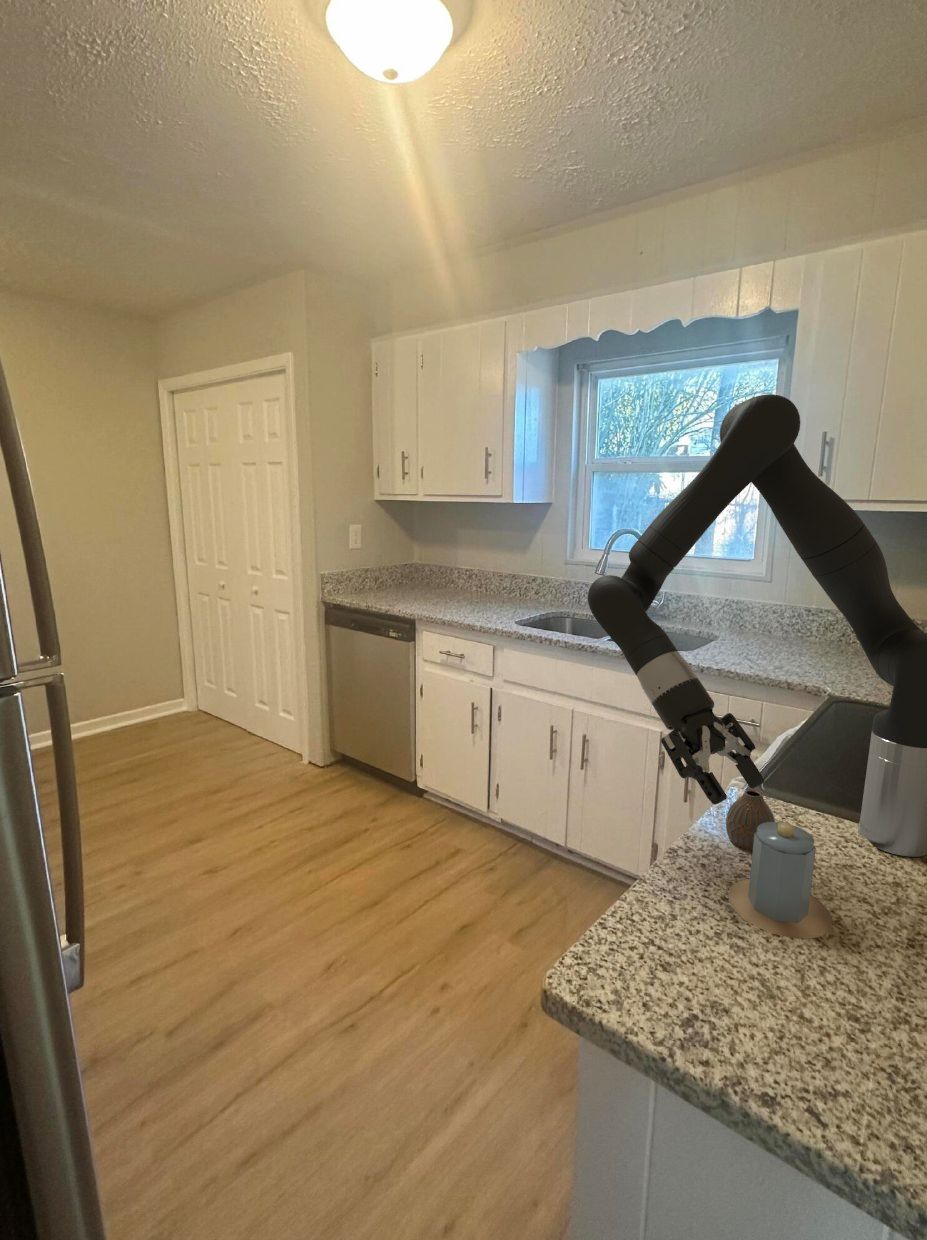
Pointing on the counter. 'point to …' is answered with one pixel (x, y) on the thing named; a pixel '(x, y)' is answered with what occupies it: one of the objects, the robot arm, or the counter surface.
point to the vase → (747, 818)
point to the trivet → (808, 927)
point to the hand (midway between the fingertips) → (740, 793)
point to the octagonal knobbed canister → (781, 871)
